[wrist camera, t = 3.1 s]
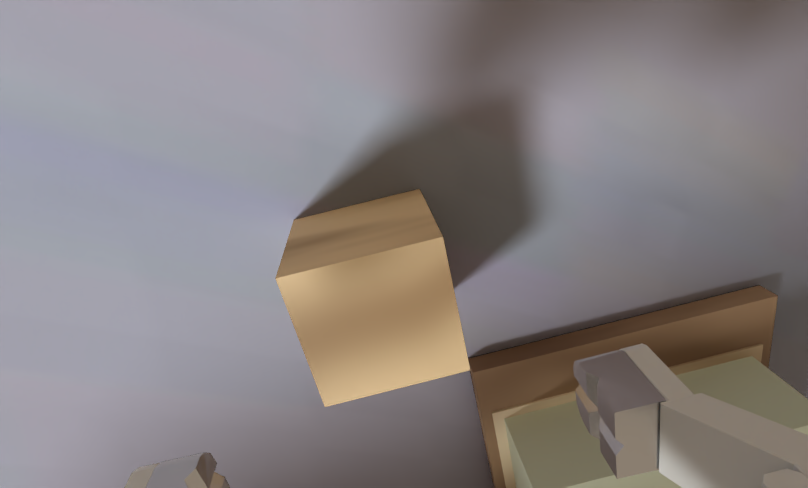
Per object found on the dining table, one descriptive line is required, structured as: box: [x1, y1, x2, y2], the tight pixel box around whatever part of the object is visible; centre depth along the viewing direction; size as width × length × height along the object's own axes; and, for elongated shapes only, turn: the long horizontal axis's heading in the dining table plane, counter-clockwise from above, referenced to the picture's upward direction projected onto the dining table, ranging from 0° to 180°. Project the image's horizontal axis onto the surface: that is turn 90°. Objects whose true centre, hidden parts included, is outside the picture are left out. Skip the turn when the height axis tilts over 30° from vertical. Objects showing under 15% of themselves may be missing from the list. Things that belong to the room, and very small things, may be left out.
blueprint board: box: [468, 285, 778, 488], centre depth 25 cm, size 18×14×1 cm
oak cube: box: [276, 189, 470, 407], centre depth 17 cm, size 5×5×5 cm
